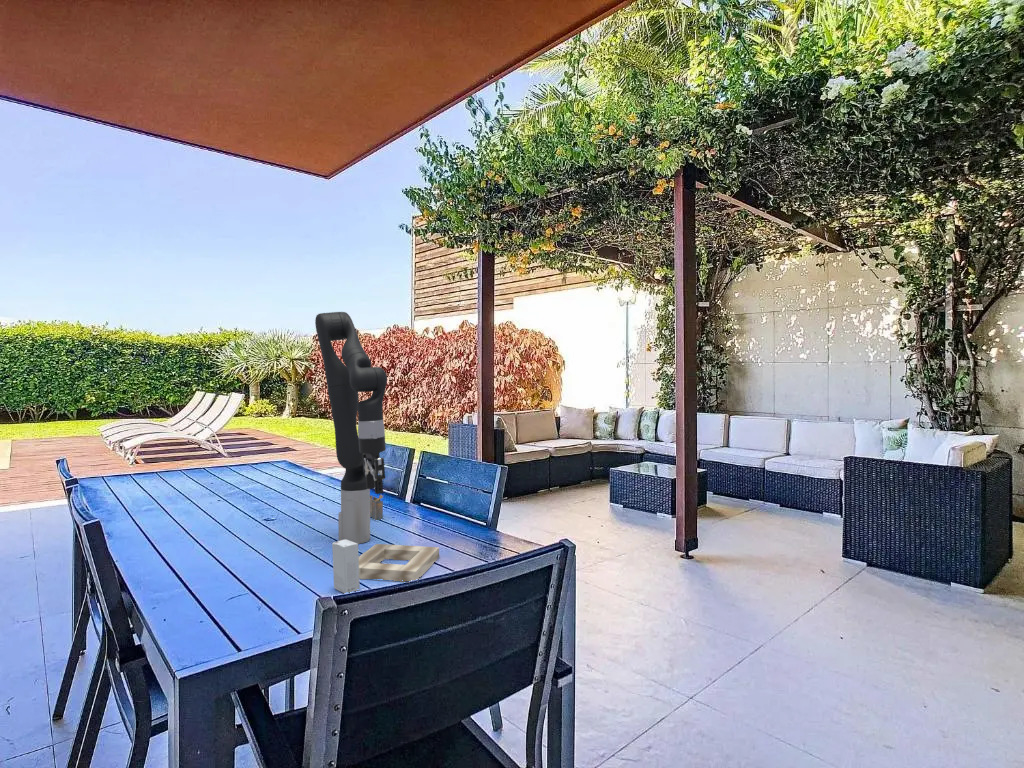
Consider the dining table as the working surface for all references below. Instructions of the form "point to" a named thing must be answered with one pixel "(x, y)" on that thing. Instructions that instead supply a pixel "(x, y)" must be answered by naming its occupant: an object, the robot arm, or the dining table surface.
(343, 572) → the skincare box
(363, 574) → the socket block
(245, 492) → the dining table surface
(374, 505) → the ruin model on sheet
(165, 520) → the dining table surface
